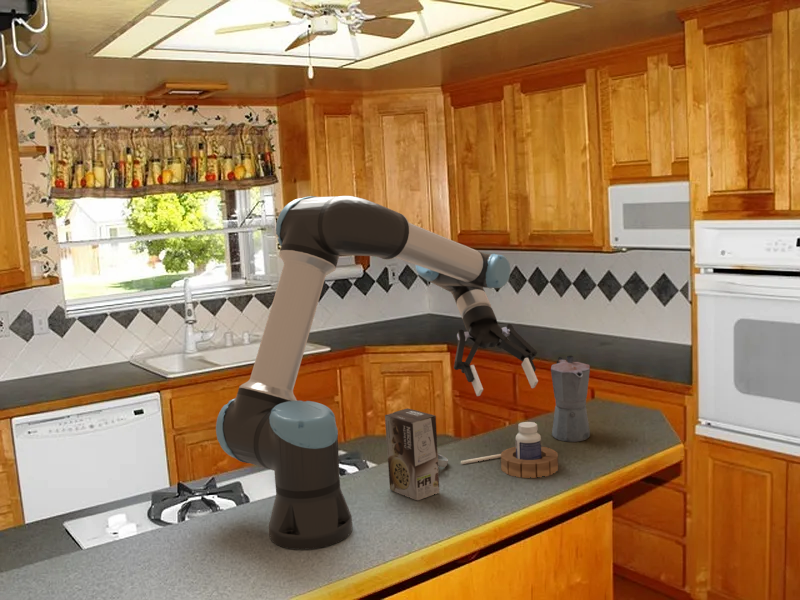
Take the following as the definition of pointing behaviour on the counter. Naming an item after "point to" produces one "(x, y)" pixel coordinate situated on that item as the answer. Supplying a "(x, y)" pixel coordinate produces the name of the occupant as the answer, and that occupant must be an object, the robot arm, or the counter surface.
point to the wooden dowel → (481, 459)
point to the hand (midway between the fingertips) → (507, 388)
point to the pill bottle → (528, 442)
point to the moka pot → (570, 400)
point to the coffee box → (412, 453)
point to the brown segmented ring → (529, 464)
